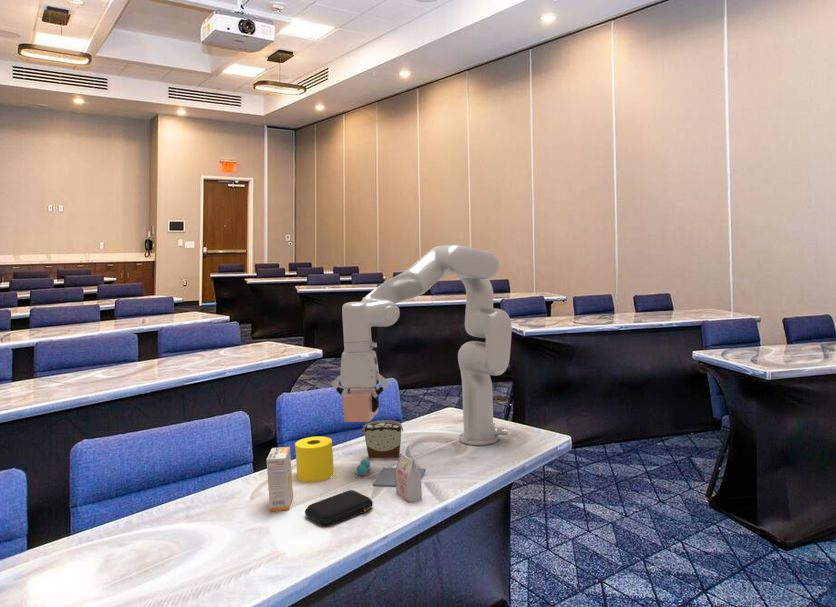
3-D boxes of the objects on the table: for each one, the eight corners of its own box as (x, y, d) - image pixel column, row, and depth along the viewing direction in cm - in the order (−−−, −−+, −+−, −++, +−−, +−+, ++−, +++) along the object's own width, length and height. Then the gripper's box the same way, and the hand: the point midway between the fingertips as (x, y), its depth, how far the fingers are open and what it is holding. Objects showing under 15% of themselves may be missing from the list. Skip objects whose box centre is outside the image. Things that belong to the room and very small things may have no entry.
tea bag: (409, 489, 151) (407, 451, 150) (421, 498, 145) (420, 459, 144) (396, 493, 149) (394, 454, 148) (408, 502, 143) (406, 462, 142)
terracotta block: (378, 411, 167) (377, 387, 167) (369, 421, 157) (368, 396, 157) (354, 411, 168) (353, 387, 168) (344, 421, 159) (342, 396, 158)
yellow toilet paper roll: (302, 485, 157) (300, 450, 156) (293, 473, 166) (291, 440, 165) (338, 477, 161) (336, 443, 160) (327, 466, 170) (325, 434, 169)
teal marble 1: (372, 467, 168) (371, 457, 167) (369, 471, 165) (368, 461, 164) (361, 467, 168) (361, 457, 168) (359, 471, 165) (358, 460, 165)
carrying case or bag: (327, 532, 130) (379, 511, 140) (326, 519, 130) (379, 498, 140) (301, 517, 138) (353, 498, 148) (301, 505, 138) (352, 486, 148)
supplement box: (274, 497, 149) (271, 447, 148) (293, 496, 150) (290, 446, 149) (269, 512, 141) (265, 458, 140) (289, 510, 141) (286, 457, 140)
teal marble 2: (368, 472, 164) (367, 462, 163) (365, 477, 161) (365, 466, 160) (358, 472, 164) (357, 462, 164) (355, 476, 161) (354, 466, 161)
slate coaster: (425, 470, 164) (425, 468, 164) (417, 487, 152) (417, 485, 152) (383, 469, 166) (383, 467, 166) (372, 486, 154) (372, 484, 154)
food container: (406, 451, 180) (405, 419, 179) (404, 458, 174) (403, 425, 173) (367, 451, 181) (365, 420, 180) (363, 458, 175) (361, 426, 174)
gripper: (391, 344, 163) (394, 407, 165) (331, 345, 166) (335, 407, 168) (385, 348, 156) (389, 414, 158) (323, 349, 159) (326, 414, 161)
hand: (361, 410), depth 163 cm, fingers closed on terracotta block, 7 cm apart
